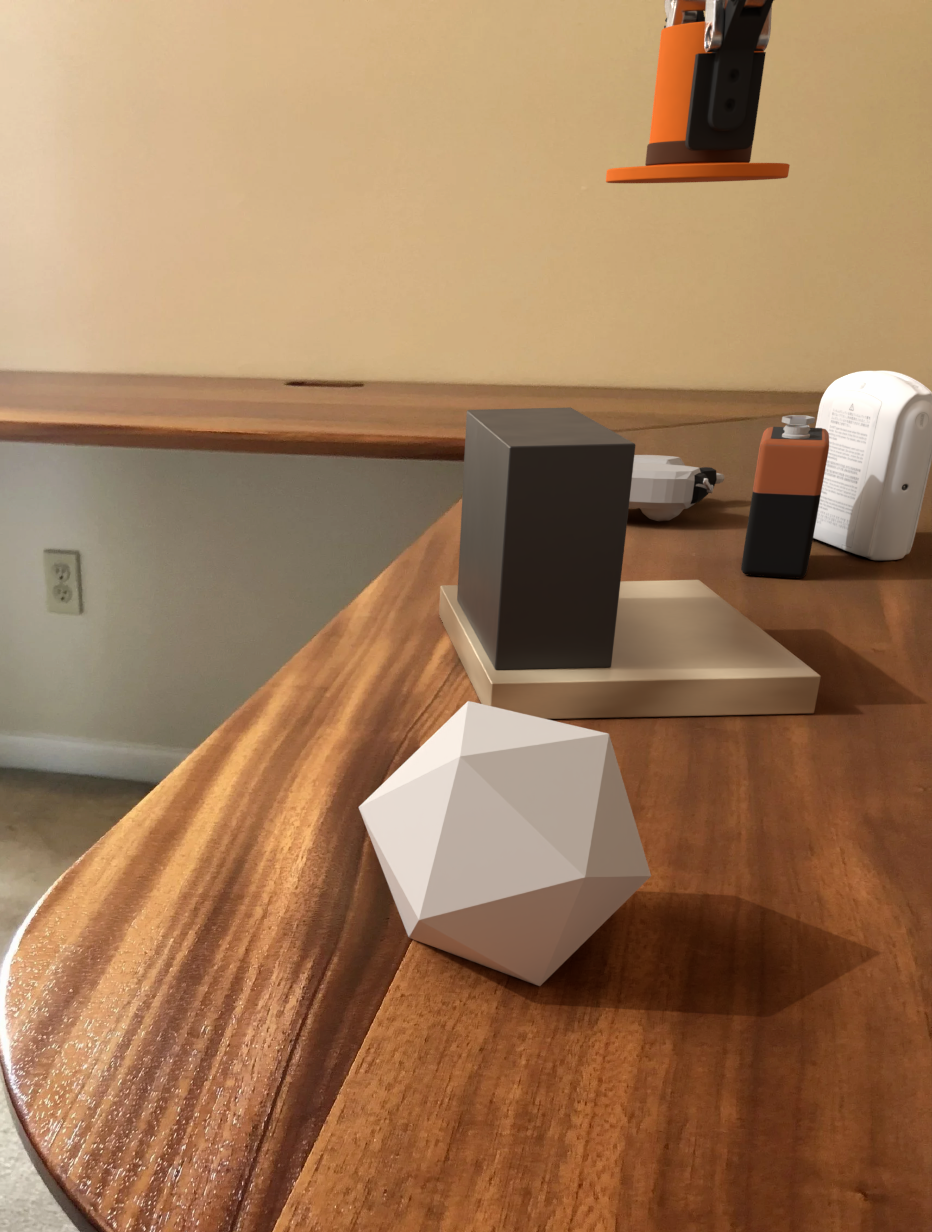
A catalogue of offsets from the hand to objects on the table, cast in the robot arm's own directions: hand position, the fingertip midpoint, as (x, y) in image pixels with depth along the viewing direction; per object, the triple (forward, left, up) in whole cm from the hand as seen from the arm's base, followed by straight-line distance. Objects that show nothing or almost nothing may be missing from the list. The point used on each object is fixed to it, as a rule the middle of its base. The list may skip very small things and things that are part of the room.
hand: (699, 148), depth 66 cm
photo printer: (-22, -23, -26) cm, 41 cm away
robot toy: (-10, -38, -26) cm, 47 cm away
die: (+15, +37, -26) cm, 48 cm away
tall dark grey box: (+8, +5, -24) cm, 25 cm away
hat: (0, 0, -1) cm, 1 cm away
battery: (-14, -17, -26) cm, 34 cm away
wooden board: (+3, +4, -26) cm, 26 cm away
